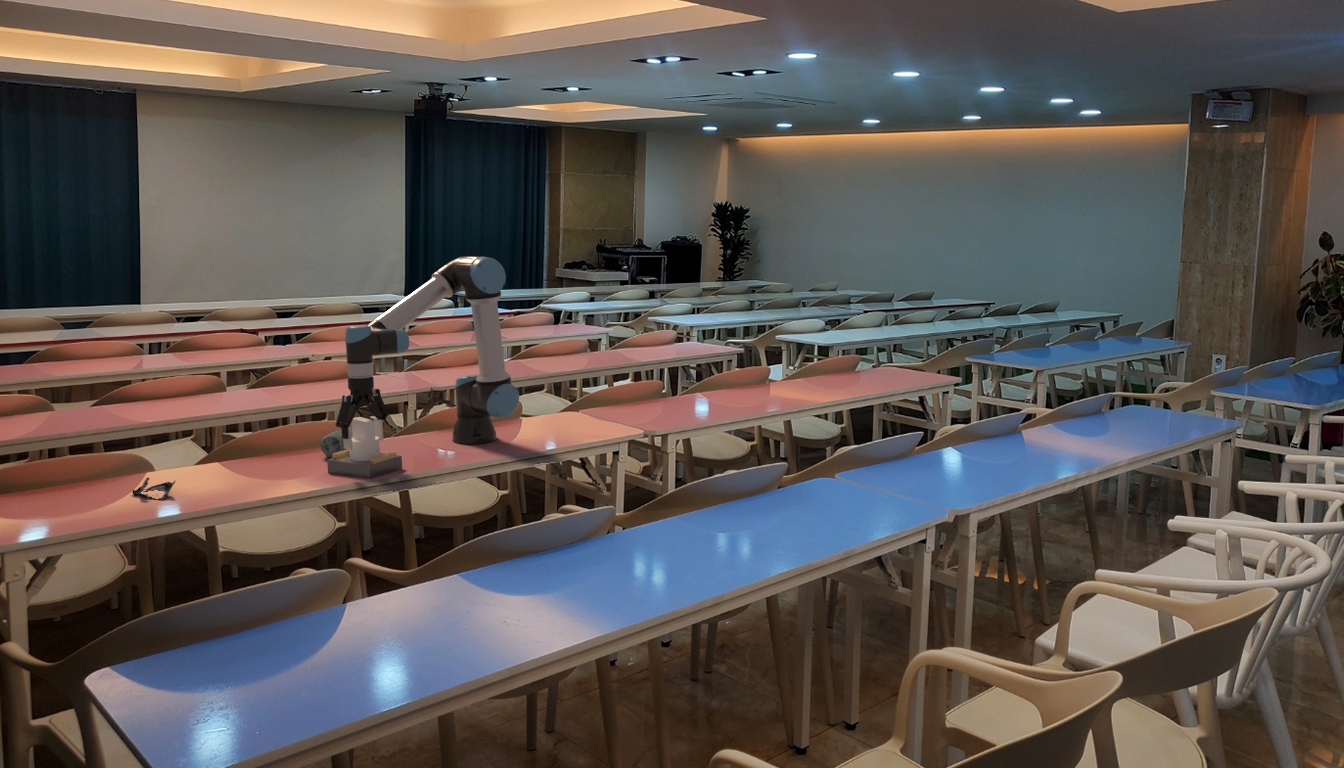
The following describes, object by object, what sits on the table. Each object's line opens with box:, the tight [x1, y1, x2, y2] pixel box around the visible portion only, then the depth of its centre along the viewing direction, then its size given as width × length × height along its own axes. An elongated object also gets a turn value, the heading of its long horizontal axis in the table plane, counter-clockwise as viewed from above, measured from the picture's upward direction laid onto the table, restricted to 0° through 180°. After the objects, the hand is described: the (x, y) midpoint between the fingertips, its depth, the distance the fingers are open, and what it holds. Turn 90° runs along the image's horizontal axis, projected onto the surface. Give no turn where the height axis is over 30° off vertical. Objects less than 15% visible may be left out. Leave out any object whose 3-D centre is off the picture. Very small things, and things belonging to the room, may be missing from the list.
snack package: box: [132, 477, 176, 500], centre depth 279 cm, size 12×7×12 cm
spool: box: [320, 429, 352, 459], centre depth 327 cm, size 14×10×10 cm
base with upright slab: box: [349, 416, 381, 461], centre depth 306 cm, size 9×9×12 cm
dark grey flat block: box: [326, 449, 403, 480], centre depth 307 cm, size 14×17×6 cm
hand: (364, 444), depth 306 cm, fingers open, 13 cm apart
